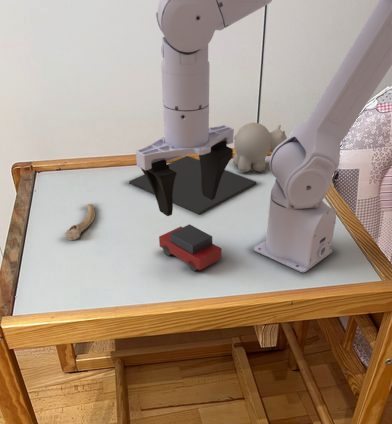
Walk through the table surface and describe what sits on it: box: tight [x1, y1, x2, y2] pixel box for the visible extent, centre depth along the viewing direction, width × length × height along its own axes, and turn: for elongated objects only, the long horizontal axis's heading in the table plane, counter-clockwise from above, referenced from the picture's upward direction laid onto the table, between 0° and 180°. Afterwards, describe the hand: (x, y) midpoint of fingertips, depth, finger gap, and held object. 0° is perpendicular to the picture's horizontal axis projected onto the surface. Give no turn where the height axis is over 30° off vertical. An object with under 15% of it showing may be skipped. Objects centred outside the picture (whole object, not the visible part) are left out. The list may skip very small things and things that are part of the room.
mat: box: [128, 155, 257, 215], centre depth 98 cm, size 18×16×1 cm
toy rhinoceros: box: [232, 122, 288, 173], centre depth 101 cm, size 7×12×8 cm, turn 99°
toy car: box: [158, 223, 222, 272], centre depth 79 cm, size 9×4×4 cm
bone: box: [64, 203, 96, 241], centre depth 87 cm, size 3×11×2 cm, turn 171°
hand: (187, 204), depth 74 cm, fingers open, 7 cm apart
